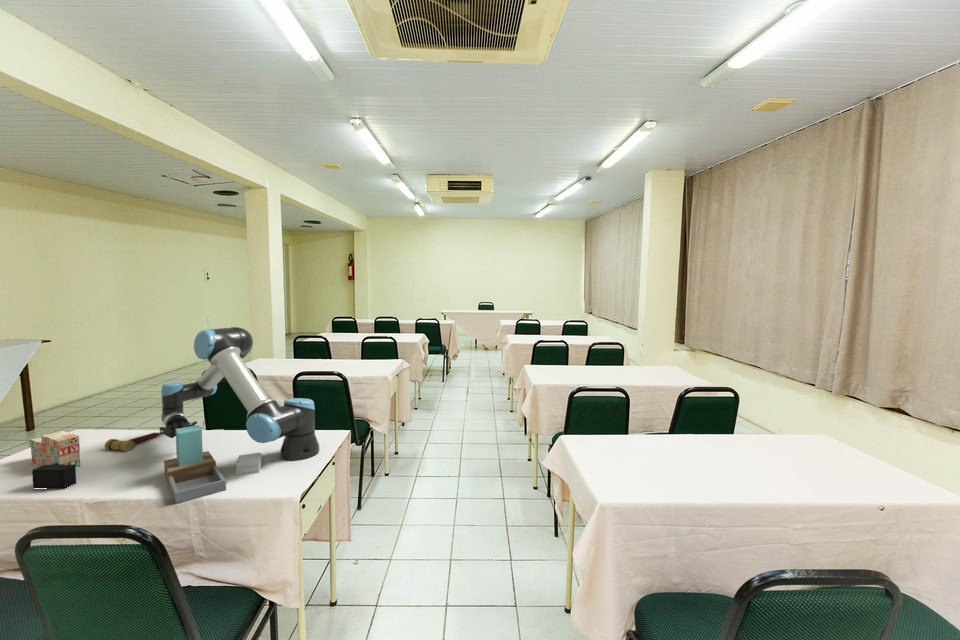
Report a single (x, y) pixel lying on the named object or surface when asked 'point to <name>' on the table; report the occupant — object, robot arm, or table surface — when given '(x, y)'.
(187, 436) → the teal block
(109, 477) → the table surface
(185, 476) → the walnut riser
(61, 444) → the stack of blocks
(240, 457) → the small box
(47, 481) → the digital camera
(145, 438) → the gavel
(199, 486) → the bin
